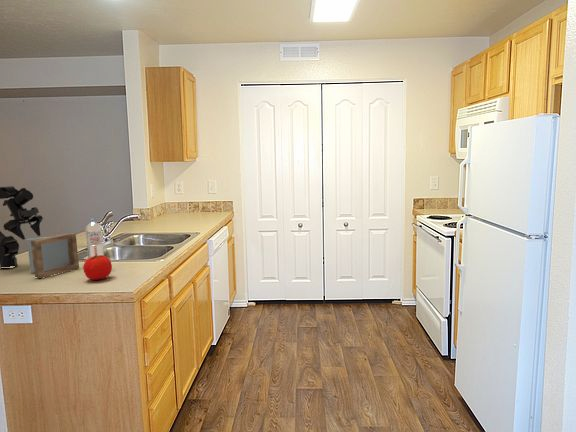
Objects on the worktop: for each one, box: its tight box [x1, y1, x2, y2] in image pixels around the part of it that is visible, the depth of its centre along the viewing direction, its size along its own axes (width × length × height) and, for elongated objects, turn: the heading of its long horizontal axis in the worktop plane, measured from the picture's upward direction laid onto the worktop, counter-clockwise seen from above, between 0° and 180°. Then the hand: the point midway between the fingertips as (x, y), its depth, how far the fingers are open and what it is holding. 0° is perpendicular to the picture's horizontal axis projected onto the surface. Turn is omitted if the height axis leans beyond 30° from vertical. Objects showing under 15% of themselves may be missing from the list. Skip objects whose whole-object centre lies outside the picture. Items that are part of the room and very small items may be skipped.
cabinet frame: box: [31, 232, 80, 279], centre depth 211 cm, size 4×20×18 cm, turn 152°
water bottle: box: [85, 218, 105, 259], centre depth 213 cm, size 7×7×25 cm
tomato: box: [82, 254, 113, 281], centre depth 198 cm, size 12×12×11 cm
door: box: [26, 236, 70, 273], centre depth 217 cm, size 3×17×16 cm, turn 117°
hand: (32, 237), depth 220 cm, fingers open, 9 cm apart
